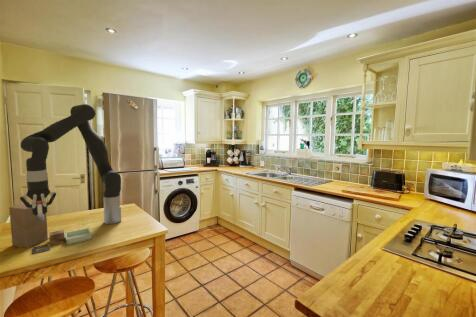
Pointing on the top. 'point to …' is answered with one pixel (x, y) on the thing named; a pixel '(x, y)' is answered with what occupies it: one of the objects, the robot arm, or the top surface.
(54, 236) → the block
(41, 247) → the pin socket
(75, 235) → the tray
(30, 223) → the wooden block
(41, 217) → the pin
